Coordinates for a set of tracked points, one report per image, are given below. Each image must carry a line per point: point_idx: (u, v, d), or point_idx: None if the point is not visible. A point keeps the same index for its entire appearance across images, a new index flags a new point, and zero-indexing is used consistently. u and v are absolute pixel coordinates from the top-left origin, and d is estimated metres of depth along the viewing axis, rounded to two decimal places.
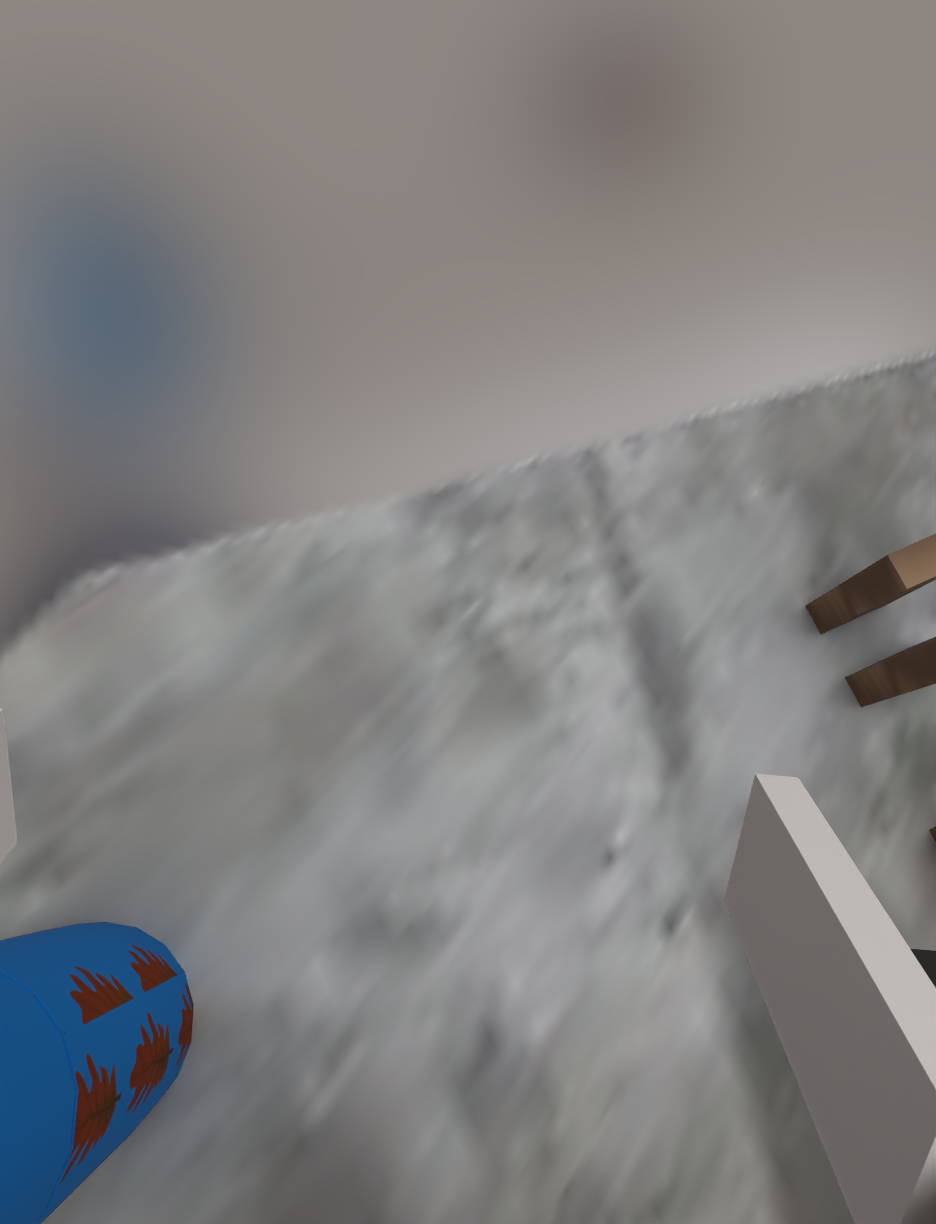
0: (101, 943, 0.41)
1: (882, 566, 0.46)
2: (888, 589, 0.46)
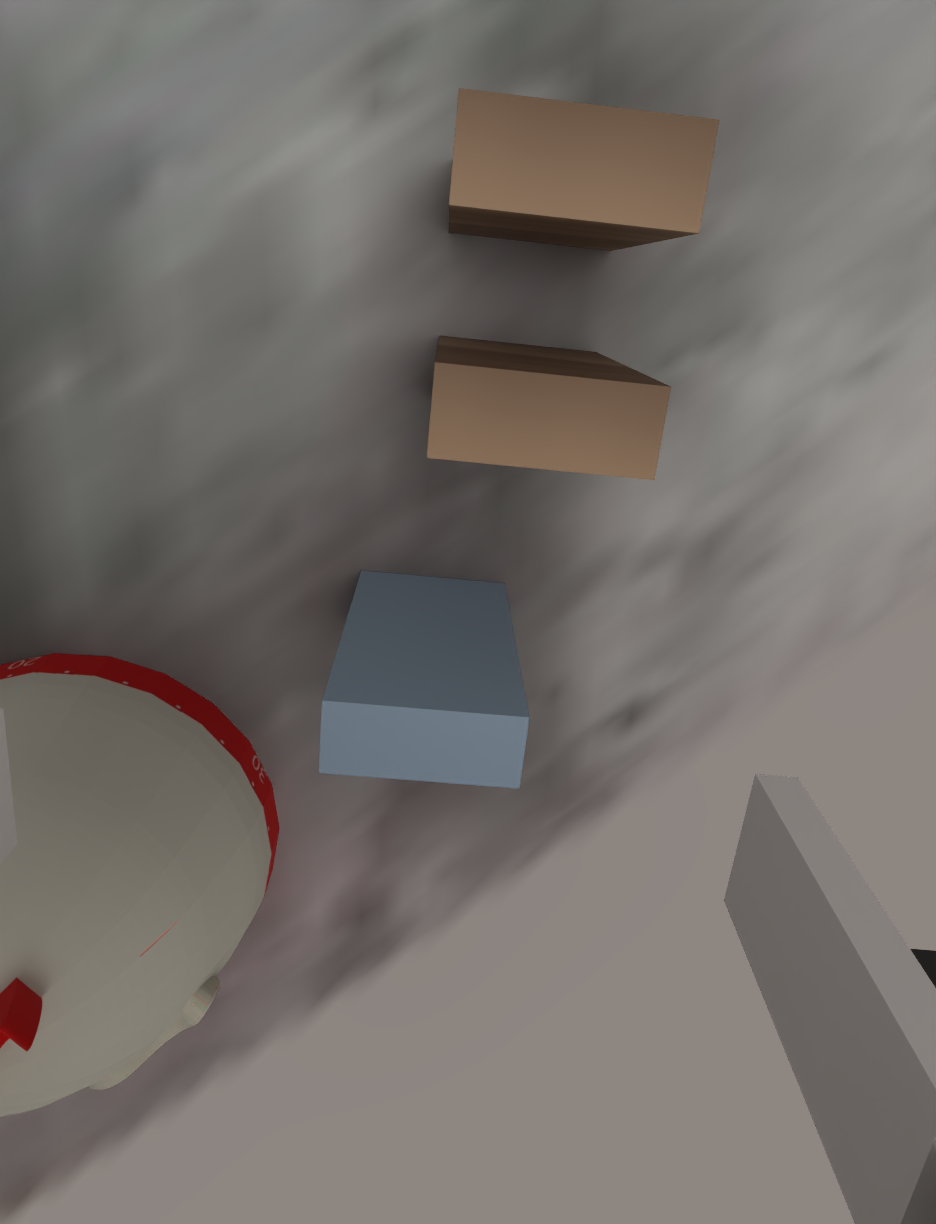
0: None
1: None
2: None
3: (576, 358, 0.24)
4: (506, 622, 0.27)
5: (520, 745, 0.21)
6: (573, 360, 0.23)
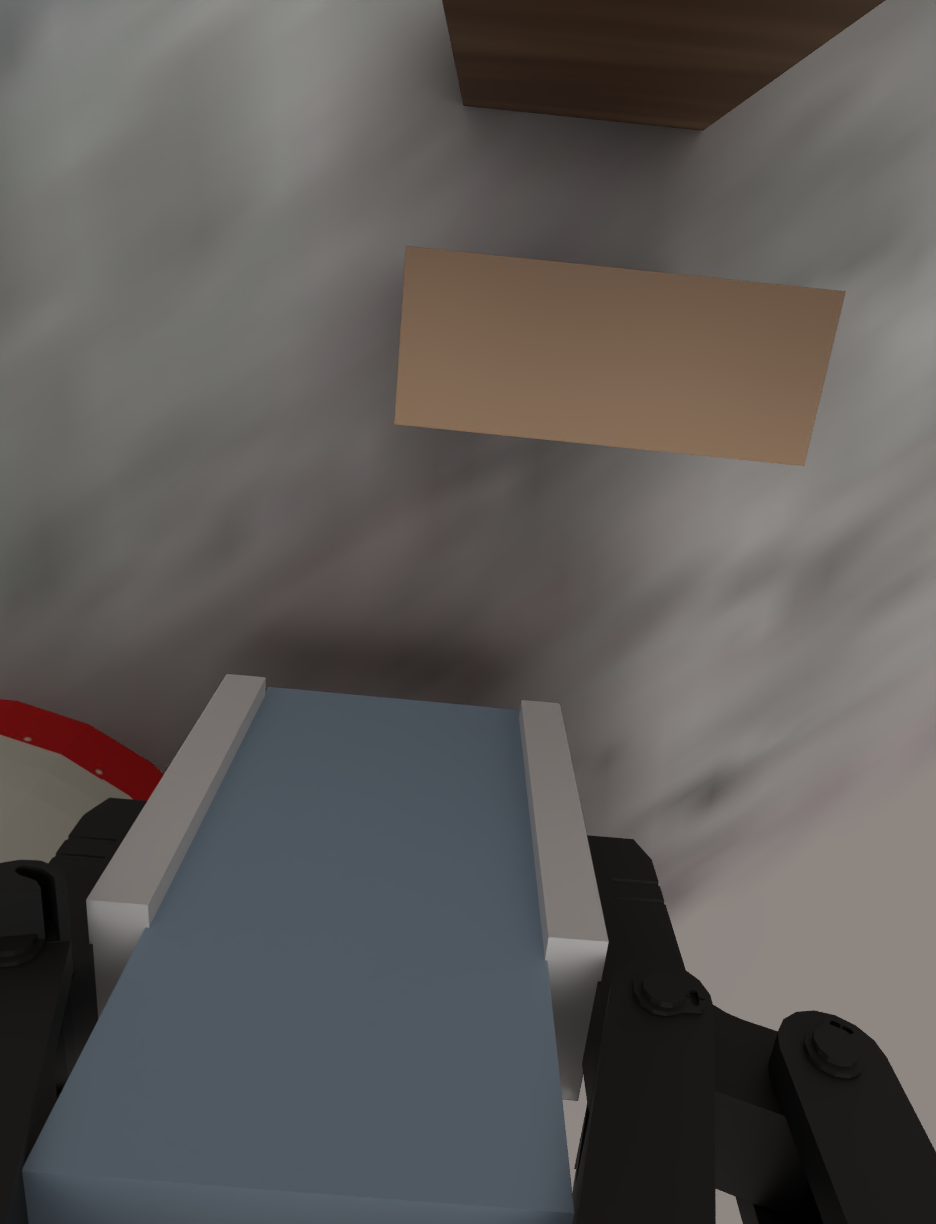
0: None
1: None
2: None
3: None
4: (521, 819, 0.14)
5: None
6: None
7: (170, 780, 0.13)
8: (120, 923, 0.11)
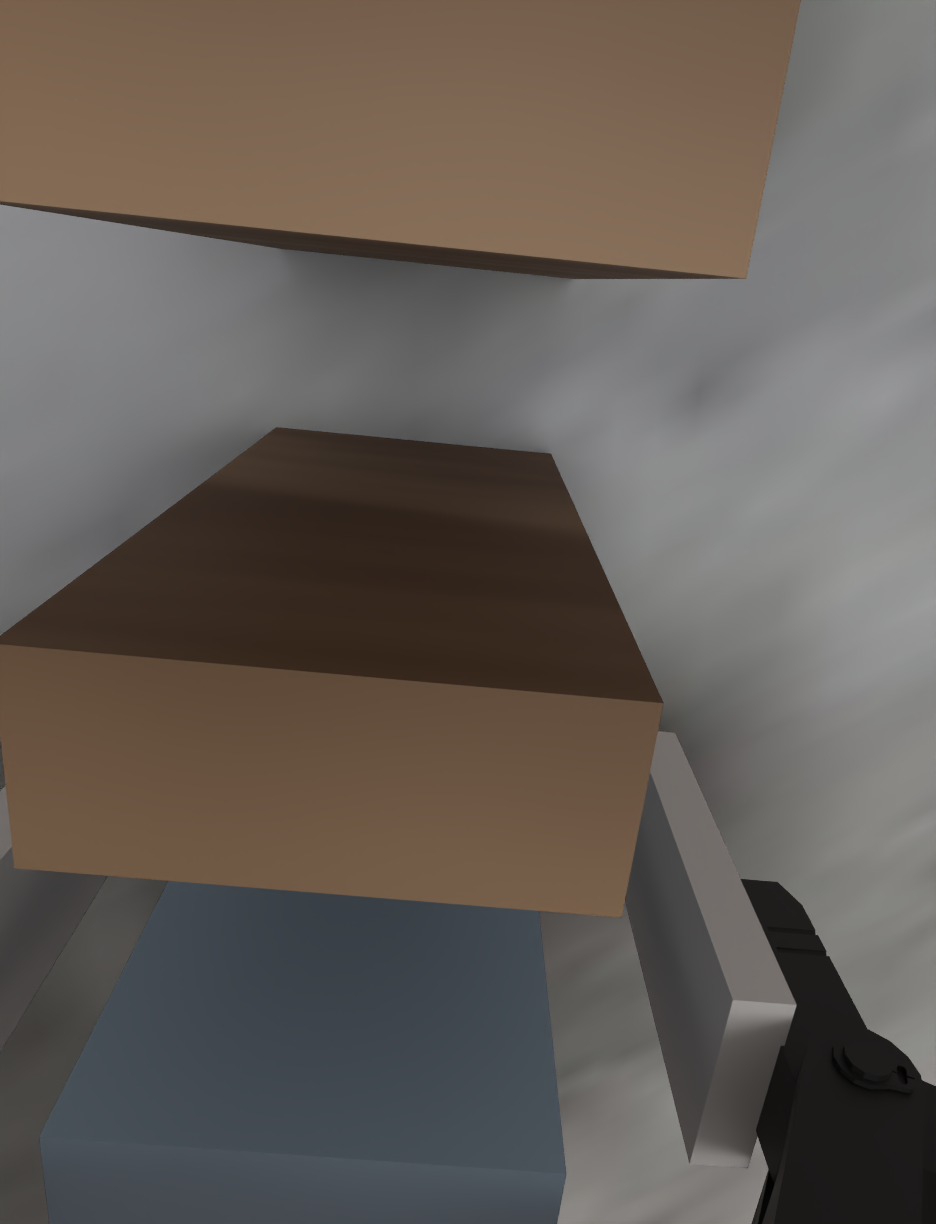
0: None
1: None
2: None
3: None
4: None
5: None
6: None
7: (5, 798, 0.12)
8: None
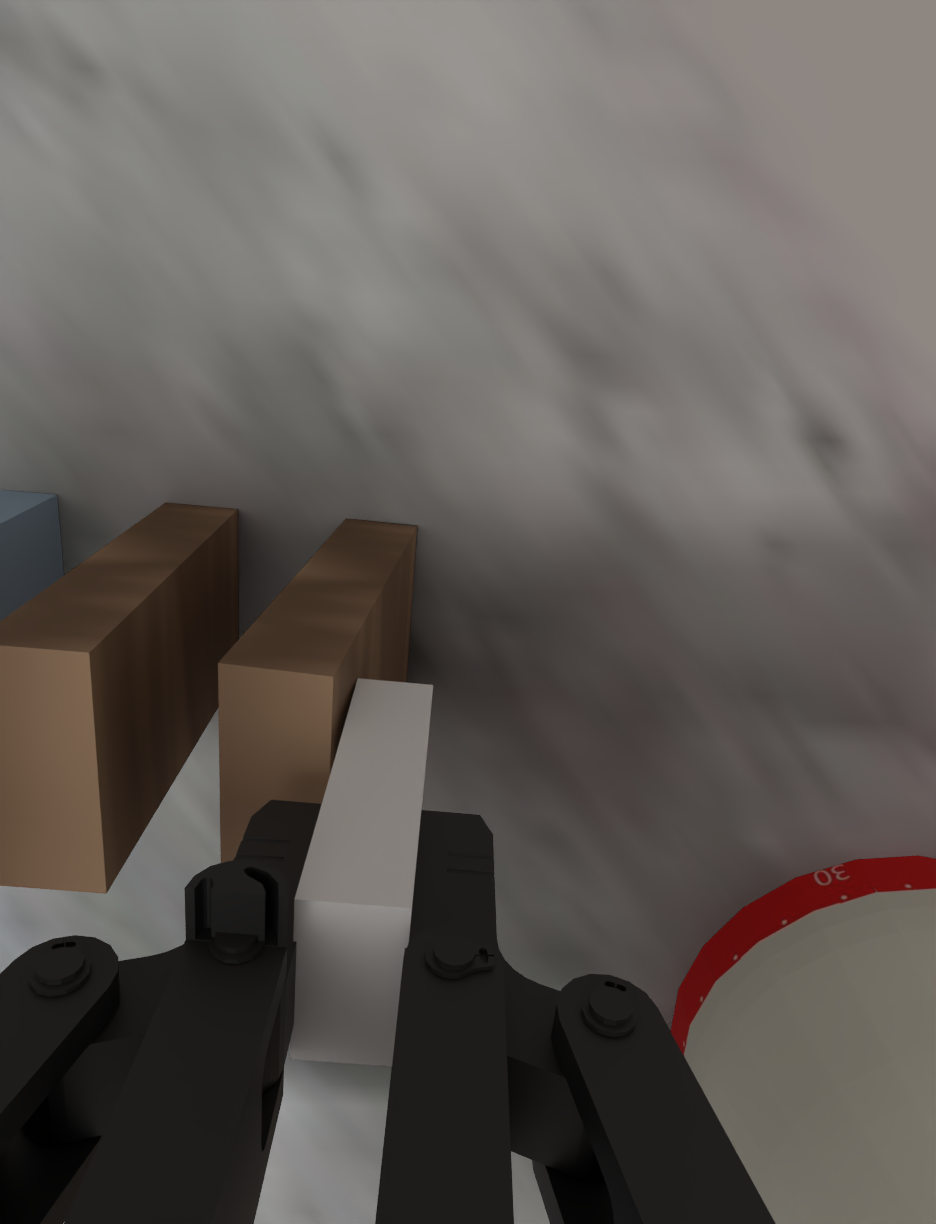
0: None
1: None
2: None
3: None
4: None
5: None
6: None
7: (337, 783, 0.14)
8: (325, 921, 0.11)
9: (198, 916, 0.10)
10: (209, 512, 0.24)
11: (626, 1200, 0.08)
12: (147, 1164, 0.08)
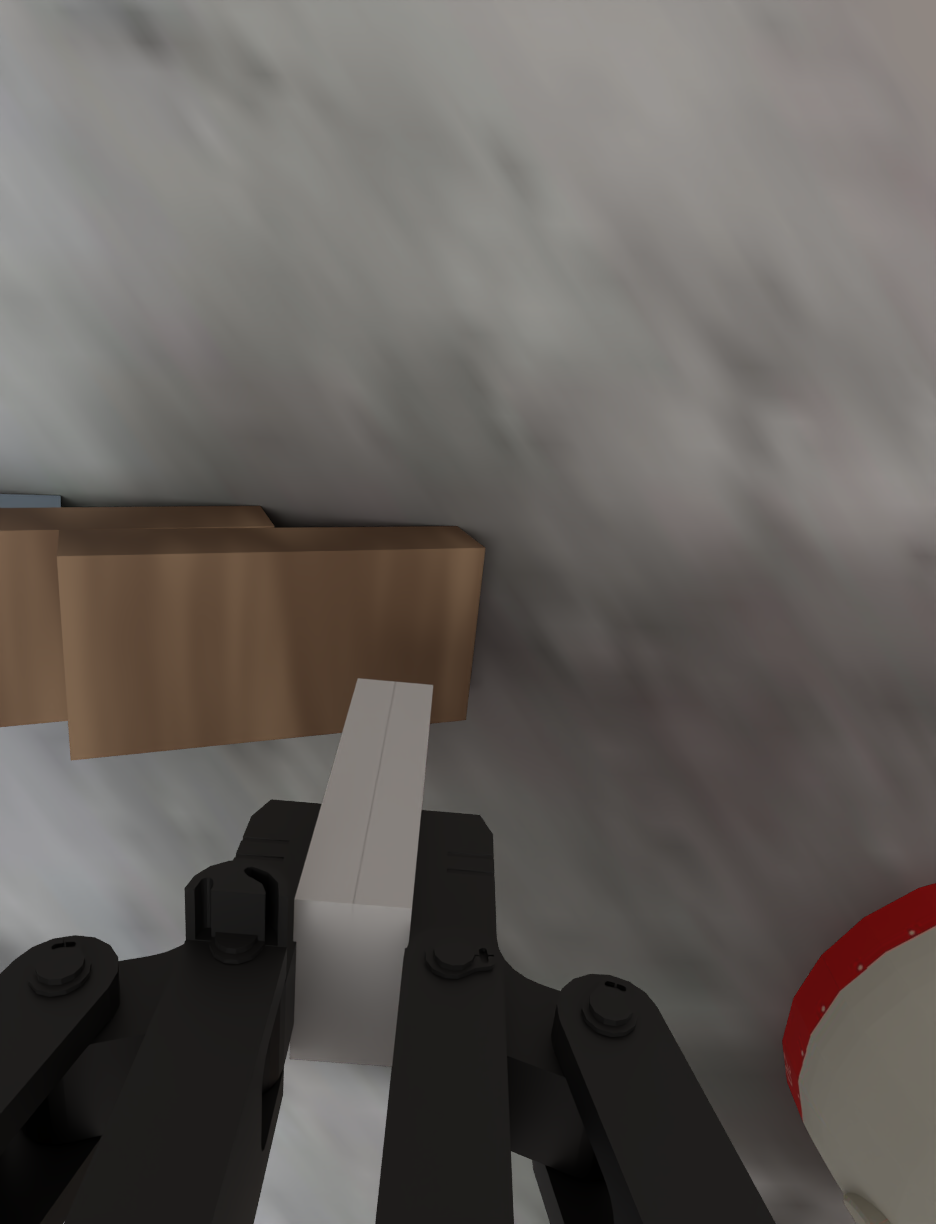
0: None
1: None
2: None
3: None
4: None
5: None
6: None
7: (337, 783, 0.14)
8: (325, 921, 0.11)
9: (198, 915, 0.10)
10: (245, 519, 0.22)
11: (626, 1200, 0.08)
12: (147, 1164, 0.08)
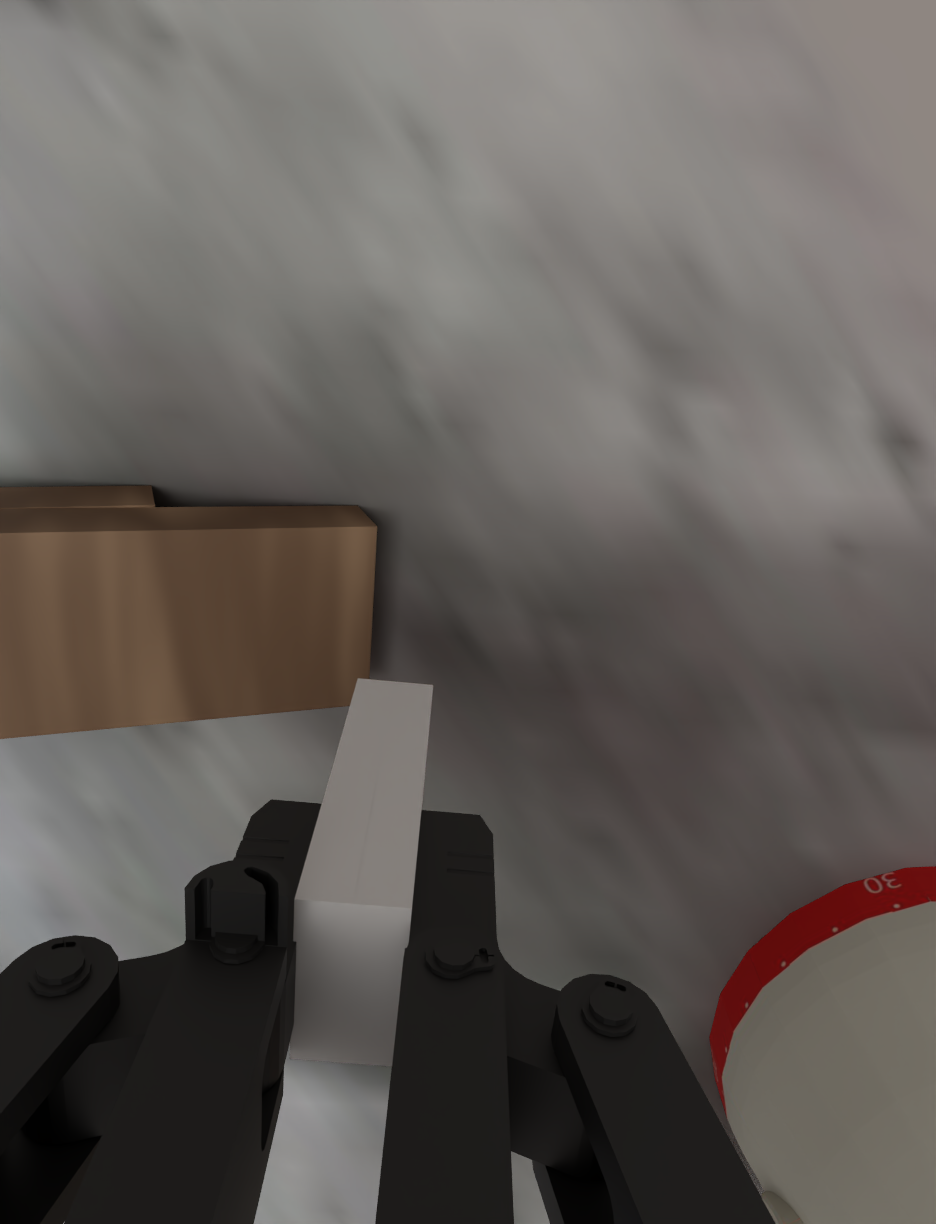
0: None
1: None
2: None
3: None
4: None
5: None
6: None
7: (337, 783, 0.14)
8: (325, 921, 0.11)
9: (197, 915, 0.10)
10: (127, 498, 0.22)
11: (626, 1200, 0.08)
12: (147, 1164, 0.08)
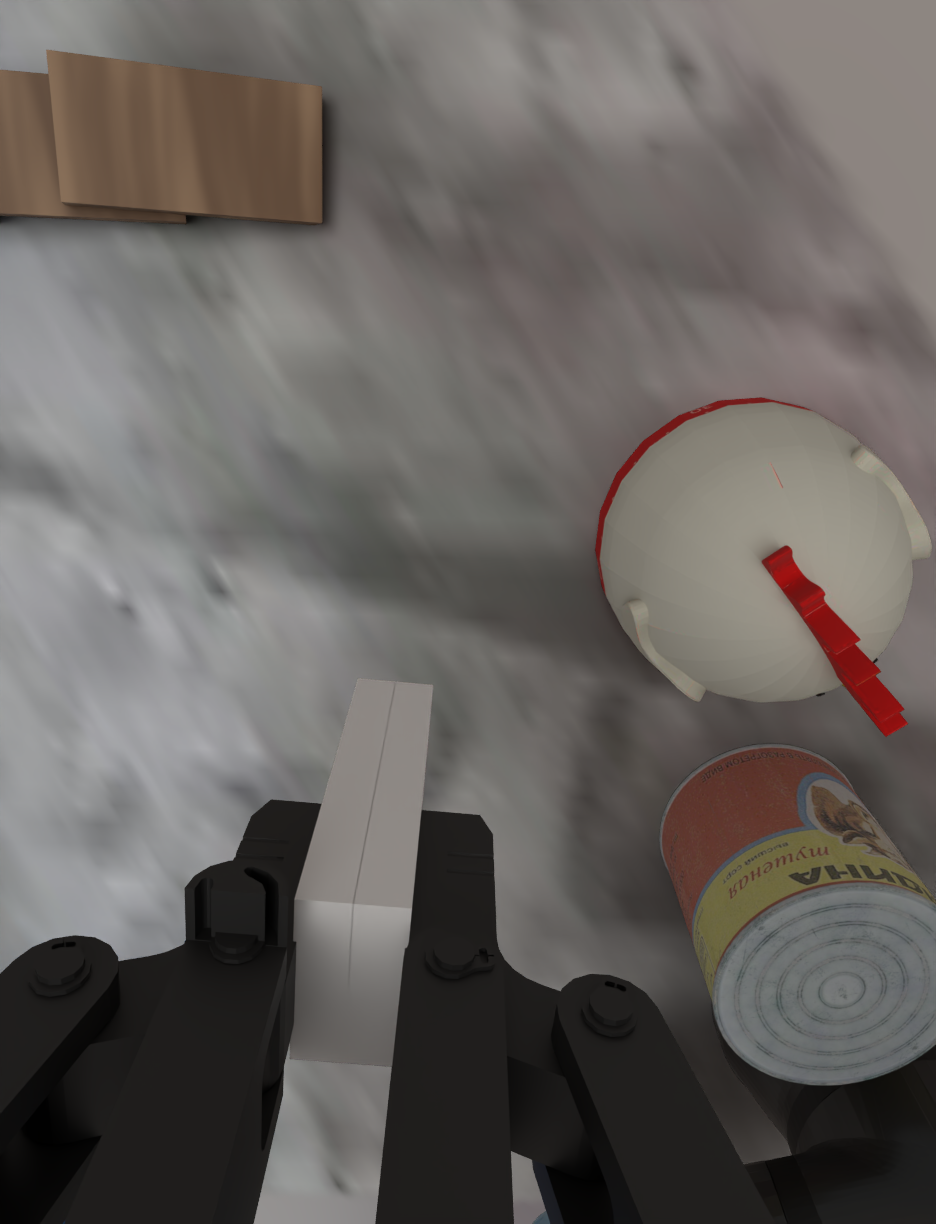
0: None
1: None
2: None
3: None
4: None
5: None
6: None
7: (337, 783, 0.14)
8: (325, 921, 0.11)
9: (198, 916, 0.10)
10: None
11: (626, 1199, 0.08)
12: (147, 1164, 0.08)
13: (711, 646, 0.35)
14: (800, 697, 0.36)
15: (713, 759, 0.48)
